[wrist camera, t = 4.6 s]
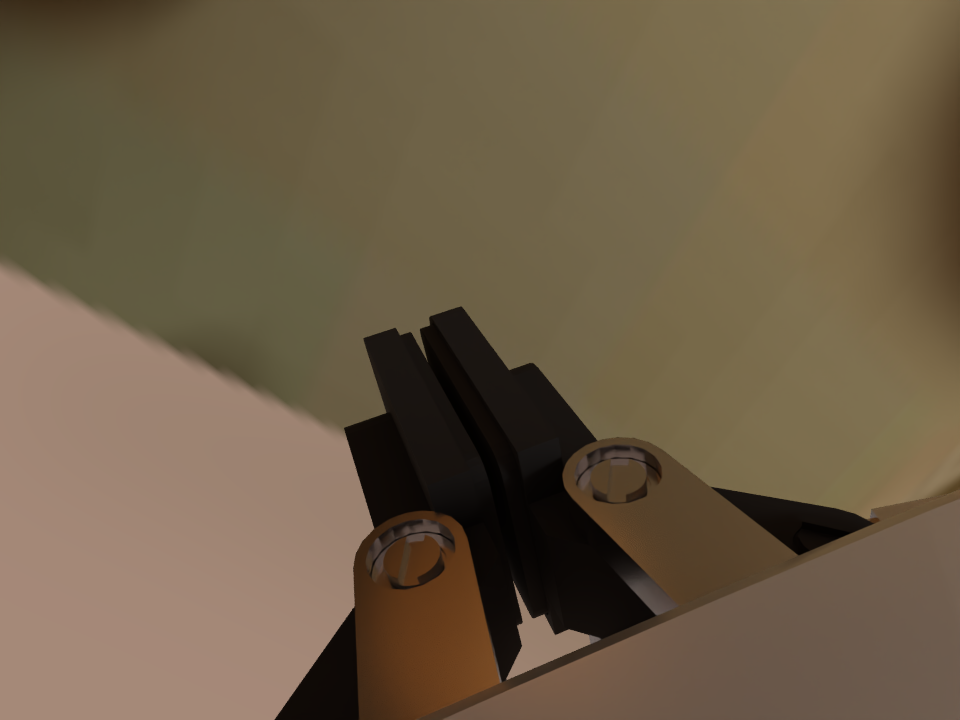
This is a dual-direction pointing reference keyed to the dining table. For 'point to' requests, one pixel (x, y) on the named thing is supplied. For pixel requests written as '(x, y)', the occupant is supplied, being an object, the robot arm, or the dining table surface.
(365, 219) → the dining table surface
